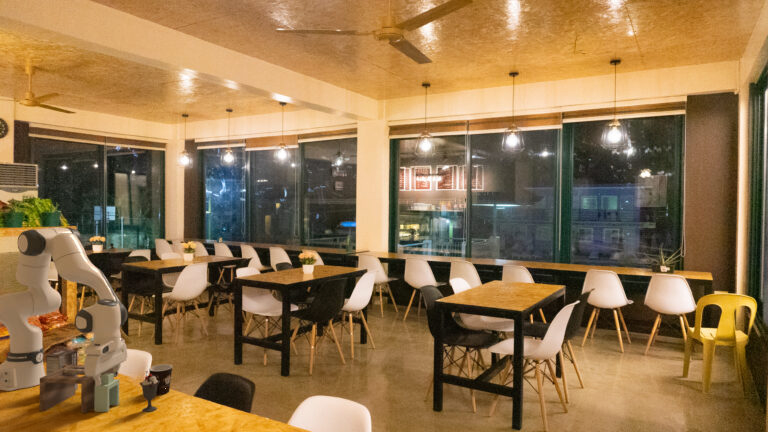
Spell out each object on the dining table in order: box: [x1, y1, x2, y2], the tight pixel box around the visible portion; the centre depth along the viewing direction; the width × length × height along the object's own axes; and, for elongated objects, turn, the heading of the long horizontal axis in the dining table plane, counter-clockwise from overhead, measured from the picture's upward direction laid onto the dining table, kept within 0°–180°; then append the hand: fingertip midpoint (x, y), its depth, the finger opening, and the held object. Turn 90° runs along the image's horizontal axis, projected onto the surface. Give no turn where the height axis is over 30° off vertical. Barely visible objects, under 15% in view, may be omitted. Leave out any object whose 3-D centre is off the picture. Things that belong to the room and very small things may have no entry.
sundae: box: [139, 370, 160, 413], centre depth 182 cm, size 7×7×15 cm
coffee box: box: [45, 349, 79, 391], centre depth 198 cm, size 9×6×16 cm
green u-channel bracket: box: [93, 373, 120, 413], centre depth 183 cm, size 5×7×12 cm
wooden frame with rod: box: [39, 364, 114, 414], centre depth 187 cm, size 18×16×13 cm
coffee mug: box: [148, 363, 173, 396], centre depth 198 cm, size 12×9×10 cm
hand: (107, 380), depth 183 cm, fingers open, 8 cm apart
